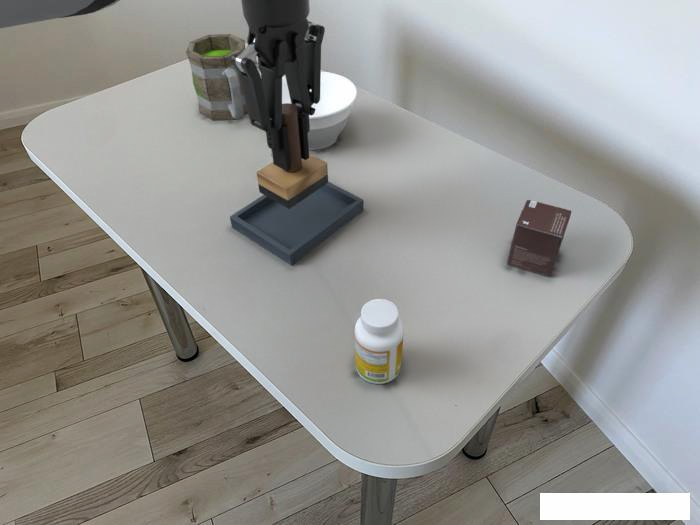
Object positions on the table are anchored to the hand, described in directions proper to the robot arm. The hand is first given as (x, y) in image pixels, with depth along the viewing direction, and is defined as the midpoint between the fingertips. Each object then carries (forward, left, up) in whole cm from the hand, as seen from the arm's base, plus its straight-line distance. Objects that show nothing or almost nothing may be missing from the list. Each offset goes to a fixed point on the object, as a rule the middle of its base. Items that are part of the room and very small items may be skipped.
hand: (291, 160), depth 79 cm
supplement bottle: (-13, -26, -11) cm, 31 cm away
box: (+15, -31, -11) cm, 36 cm away
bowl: (+18, +14, -11) cm, 26 cm away
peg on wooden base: (0, 0, -5) cm, 5 cm away
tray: (0, 0, -11) cm, 11 cm away
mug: (+14, +32, -11) cm, 37 cm away
